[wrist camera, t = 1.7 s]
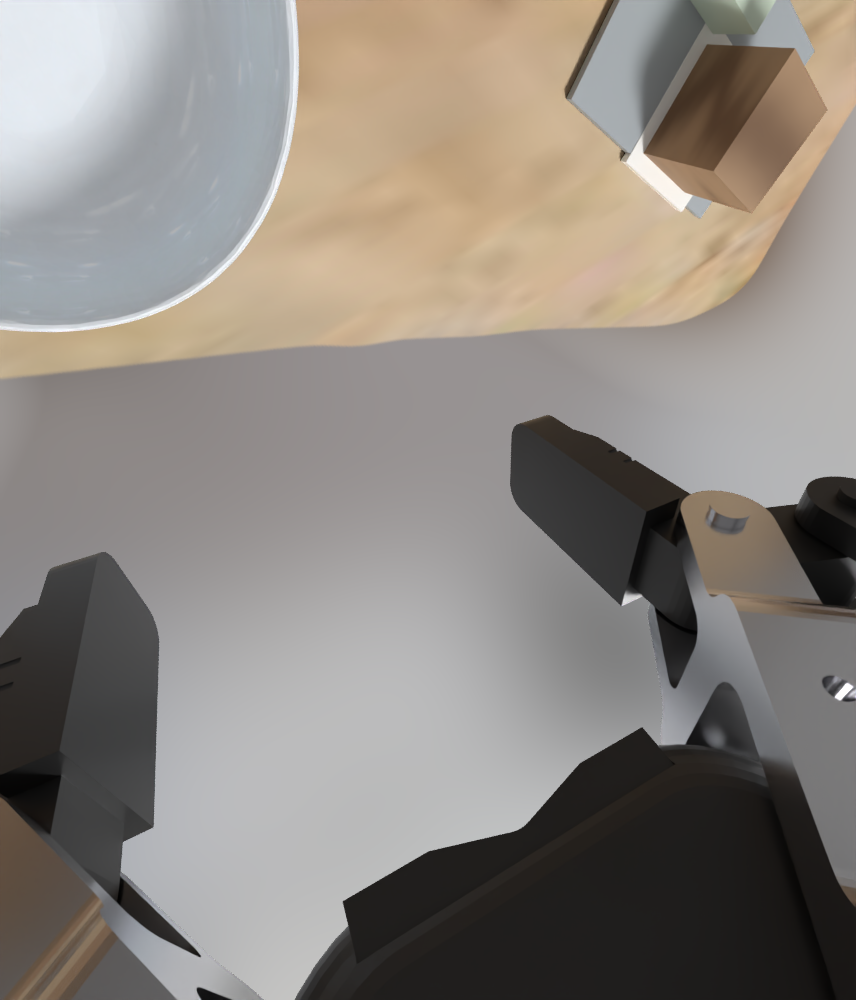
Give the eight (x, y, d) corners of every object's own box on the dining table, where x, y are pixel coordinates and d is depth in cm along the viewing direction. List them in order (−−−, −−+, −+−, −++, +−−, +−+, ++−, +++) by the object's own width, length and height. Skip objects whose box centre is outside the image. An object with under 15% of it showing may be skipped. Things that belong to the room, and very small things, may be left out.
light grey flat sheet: (697, -172, 22) (705, -175, 22) (807, 50, 32) (815, 51, 32) (561, 108, 28) (566, 109, 28) (691, 223, 38) (696, 225, 38)
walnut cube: (706, 44, 29) (795, 48, 25) (745, 99, 32) (827, 109, 28) (643, 153, 32) (713, 171, 28) (684, 192, 35) (751, 213, 31)
